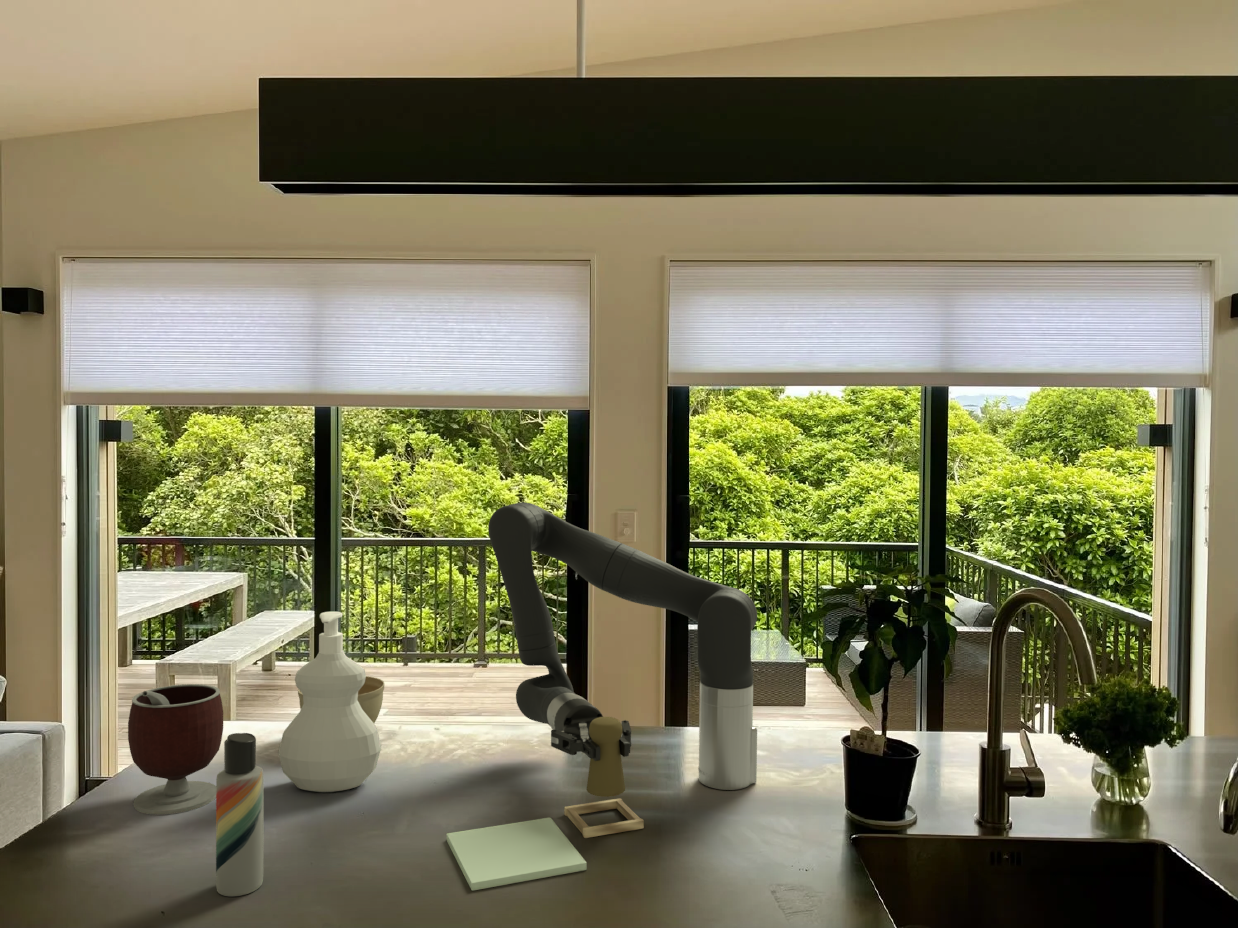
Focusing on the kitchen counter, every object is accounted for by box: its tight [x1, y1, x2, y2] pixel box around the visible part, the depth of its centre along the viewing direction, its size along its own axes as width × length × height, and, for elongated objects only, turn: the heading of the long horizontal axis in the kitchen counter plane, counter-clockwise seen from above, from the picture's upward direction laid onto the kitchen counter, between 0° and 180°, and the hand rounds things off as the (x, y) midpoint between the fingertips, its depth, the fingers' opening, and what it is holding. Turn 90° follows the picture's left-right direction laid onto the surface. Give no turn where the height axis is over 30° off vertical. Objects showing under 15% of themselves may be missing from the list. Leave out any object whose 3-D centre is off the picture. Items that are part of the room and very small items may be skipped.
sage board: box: [446, 817, 588, 891], centre depth 128 cm, size 16×16×1 cm
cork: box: [586, 716, 626, 797], centre depth 139 cm, size 6×6×11 cm
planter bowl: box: [297, 675, 385, 724], centre depth 176 cm, size 16×16×11 cm
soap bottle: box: [278, 611, 382, 793], centre depth 153 cm, size 17×12×29 cm
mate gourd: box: [127, 683, 224, 816], centre depth 145 cm, size 16×14×20 cm
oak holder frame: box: [563, 798, 645, 839], centre depth 140 cm, size 10×9×1 cm
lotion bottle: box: [215, 732, 264, 897], centre depth 118 cm, size 6×6×20 cm
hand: (612, 752), depth 137 cm, fingers closed on cork, 4 cm apart
